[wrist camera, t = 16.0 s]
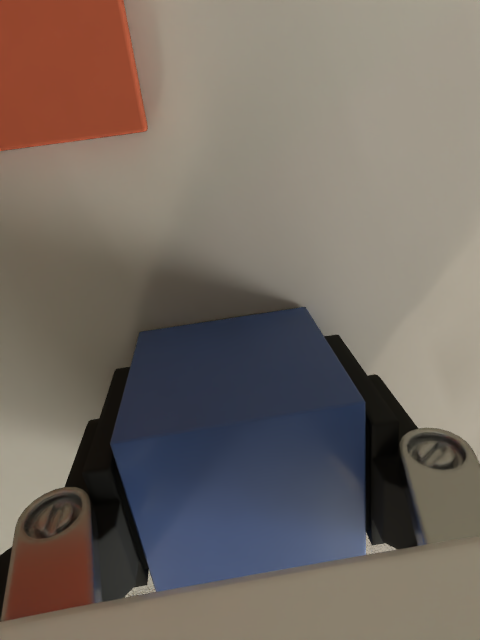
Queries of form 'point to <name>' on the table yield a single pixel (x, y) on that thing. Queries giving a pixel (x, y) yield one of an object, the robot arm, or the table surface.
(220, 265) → the table surface
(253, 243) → the table surface
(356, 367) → the robot arm
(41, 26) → the orange mat
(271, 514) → the blue block
